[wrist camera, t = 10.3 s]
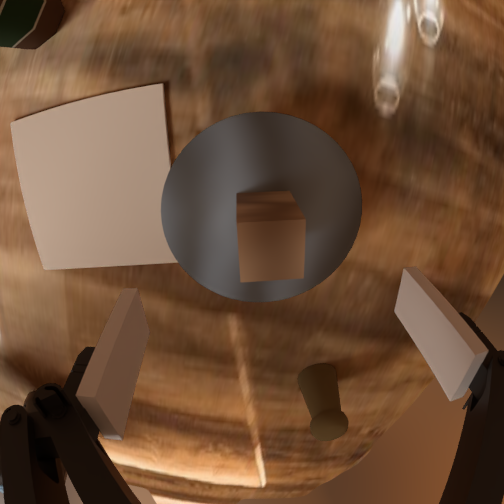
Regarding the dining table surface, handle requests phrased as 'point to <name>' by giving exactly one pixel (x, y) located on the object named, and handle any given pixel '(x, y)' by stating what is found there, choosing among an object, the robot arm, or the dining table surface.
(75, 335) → the dining table surface
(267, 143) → the lid
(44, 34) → the beer bottle
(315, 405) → the cork
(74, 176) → the mat
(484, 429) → the robot arm
